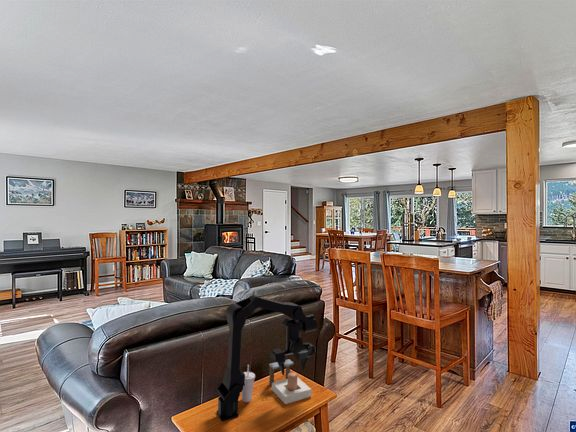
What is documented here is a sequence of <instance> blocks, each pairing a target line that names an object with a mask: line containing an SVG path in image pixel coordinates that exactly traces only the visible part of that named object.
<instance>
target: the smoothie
mask: <svg viewBox="0 0 576 432" xmlns="http://www.w3.org/2000/svg"><path fill="white" fill-rule="evenodd" d="M242 372H243V373H244V374H245V381H244V383H245V386H244V385H243V390H242V392H241V393H240V394H241V399H242V402H244V403H249V402H251V401H252V399H253V391H254V384H255V379H256V374H255V373H254V372H252V371H250V364H247V371H242Z"/></svg>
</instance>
